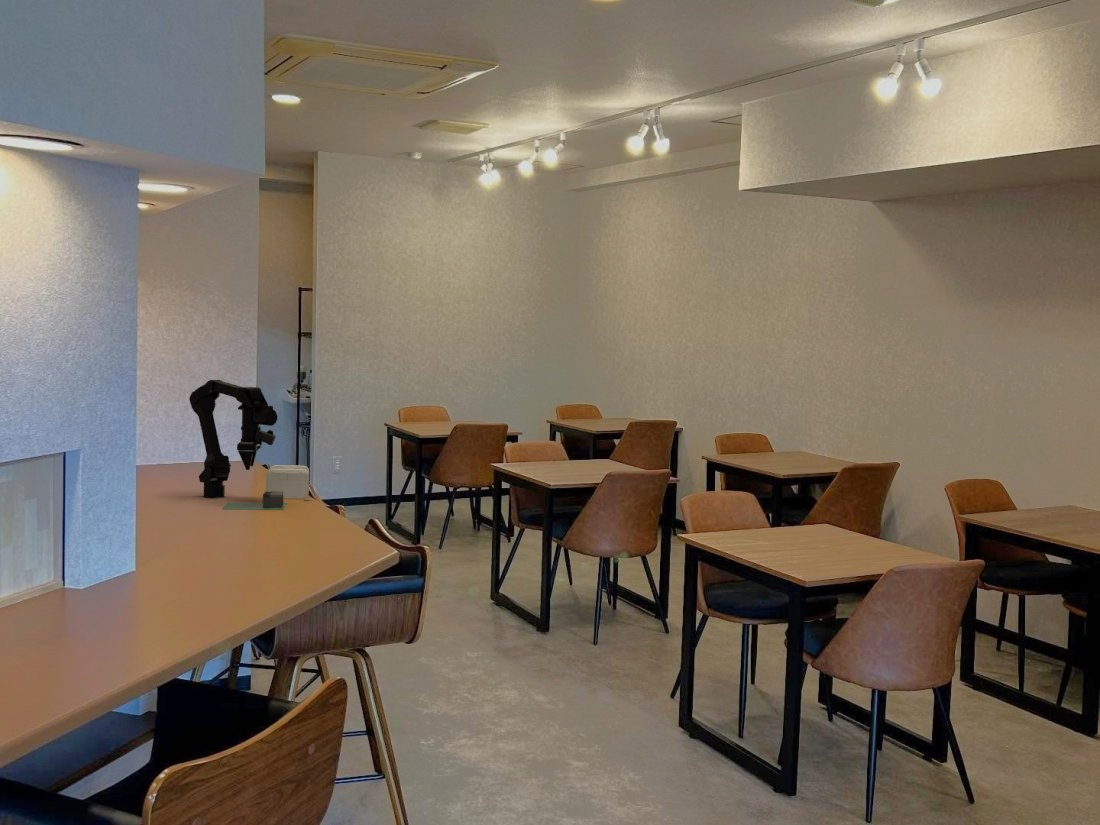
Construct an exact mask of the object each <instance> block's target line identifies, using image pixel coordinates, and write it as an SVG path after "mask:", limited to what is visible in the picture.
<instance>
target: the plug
mask: <svg viewBox="0 0 1100 825" xmlns="http://www.w3.org/2000/svg"><path fill="white" fill-rule="evenodd" d="M262 503H263V508H281V507H282V505H283V503H284V499H283V491H270V492H266V491H265V492H264V493H263V494H262Z"/></svg>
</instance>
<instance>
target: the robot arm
mask: <svg viewBox="0 0 1100 825" xmlns="http://www.w3.org/2000/svg"><path fill="white" fill-rule="evenodd" d="M220 394H221V395H226V396H228V397H232V398H235V400H236V401H238V402H239V403H241V405H239V406H238V407H237V410H239V411H240V410H241V426H240V431H241V438H240V442H238V443H237V444H236V450H237V453H238V454H239V457H240V458H241V461H242V462H243V466H244V467H245V470H246V471H250V469H251V467H254V464H255V460H256V456H257V452H258V450H259V449H261V448H262V446H263V443H264V444H267V445H268V446H273V445H274V442H275V440H276V437H277V435H275V434H274V430H271V429H269V430H267V431H264V430H262V429H261V426H260V425H262V426H269V427H271V426H274V425H275V424H277V421H278V414H277V412H276V410H275V409H274V406H273V405H269V404H268V401H267V399H266V398H265V395H264V394H263V392H262V389H261V388H260V387H258V386H240V385H238V384H234V383H230V382H227V381H223V380H221V379H210V380H207V381H206V383H204V384H202V385H200V386H199V387H197V388H196V389H195V390H193V391H192V392H191V394H190V396H189V397H188V398H189V403H190V407H191V410H192V411H193V412H194V413H195V415H197V416H198V419H199V425H200V430H201V434H202V439H203V443H204V447H205V453H206V454H205V455H206V456H205V459H204V463H203V467H204V469H203V471H201V473H200V474H199V475H198V480H199V483H203V498H207V499H219V498H224V497H225V495H226V491H225V490H226V485H225V484H224V482H228V479H229V475H230V473H231V467H232V465H231V463H230V458H229V455H224V454H223V452H222V451H221V450H222V449H221V446H220V441H219V440H220V439H219V436H218V431H217V427H216V421H215V418H214V417H215V416H214V411H215V408H216V405H217V404H216V400H217V399H218V398H219V397H220Z"/></svg>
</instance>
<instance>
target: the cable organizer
mask: <svg viewBox="0 0 1100 825" xmlns="http://www.w3.org/2000/svg"><path fill="white" fill-rule="evenodd" d="M265 476H266V477H265V480H266V482H265V492H270V491H283V500H284V499H286V500H287V499H289V500H293V499H294V500H305V499H307V498H308V497H309V494H310V490H309V489H310V469H309V467H308V466H306V465H301V464H300V465H297V464H295V465H290V464H289V465H288V464H283V465H282V464H274V465H271V466H270V468H269V469H268V470H267V471H266V474H265Z"/></svg>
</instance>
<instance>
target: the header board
mask: <svg viewBox="0 0 1100 825" xmlns="http://www.w3.org/2000/svg"><path fill="white" fill-rule="evenodd" d="M287 505H288V502H283V505H282V507H281V508H263V502H235V501H234V502H229V501H228V502H227V503H226V504H225V505H224V506H223V507H222V508H221V509H222V511H224V510H225V511H229V510H230V511H234V510H235V511H284V509H285V508H286V506H287Z"/></svg>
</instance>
